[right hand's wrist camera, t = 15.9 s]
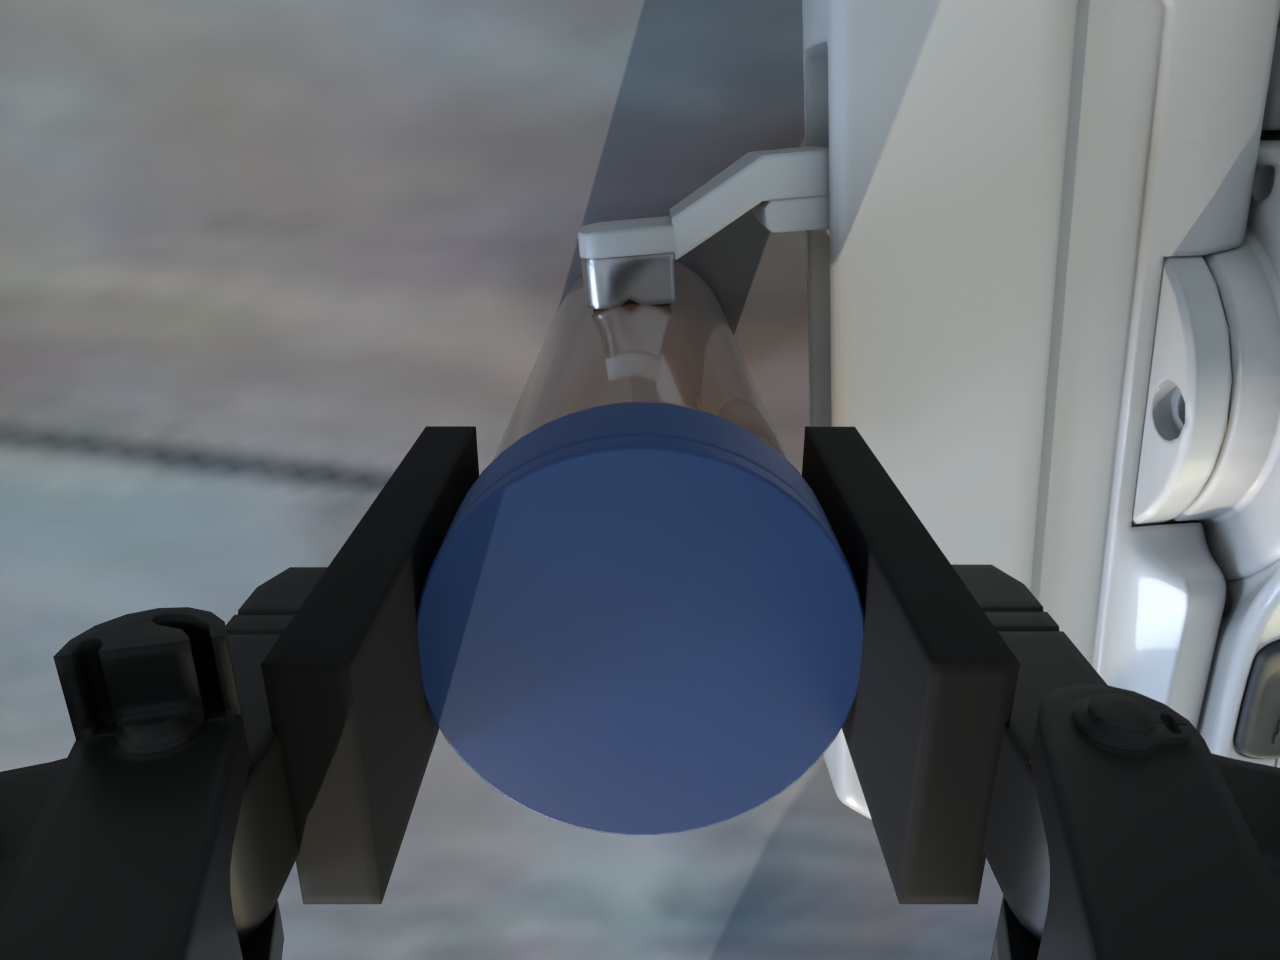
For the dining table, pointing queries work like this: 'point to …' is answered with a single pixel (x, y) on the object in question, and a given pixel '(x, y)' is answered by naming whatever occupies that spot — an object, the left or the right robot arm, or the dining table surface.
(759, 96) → the dining table surface
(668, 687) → the lid
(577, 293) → the jar
